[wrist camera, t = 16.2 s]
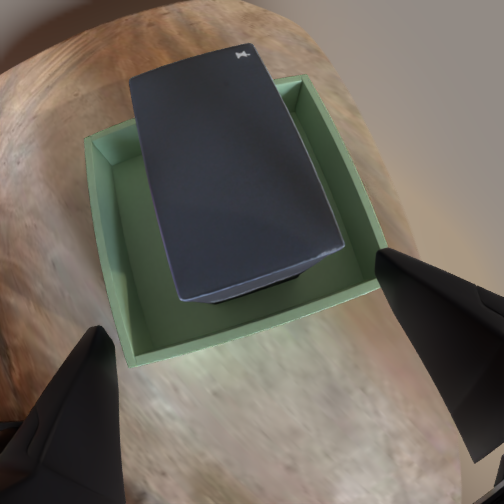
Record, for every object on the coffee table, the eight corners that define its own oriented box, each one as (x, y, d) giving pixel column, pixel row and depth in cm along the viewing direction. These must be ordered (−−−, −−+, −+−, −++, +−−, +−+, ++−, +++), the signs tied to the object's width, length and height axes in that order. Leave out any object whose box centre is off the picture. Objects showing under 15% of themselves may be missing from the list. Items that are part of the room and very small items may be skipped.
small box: (167, 168, 22) (120, 74, 12) (251, 142, 22) (256, 36, 12) (208, 309, 20) (171, 306, 10) (302, 277, 21) (356, 244, 10)
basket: (151, 358, 20) (128, 368, 15) (106, 165, 22) (83, 138, 18) (371, 286, 21) (399, 279, 17) (298, 108, 24) (306, 73, 19)
